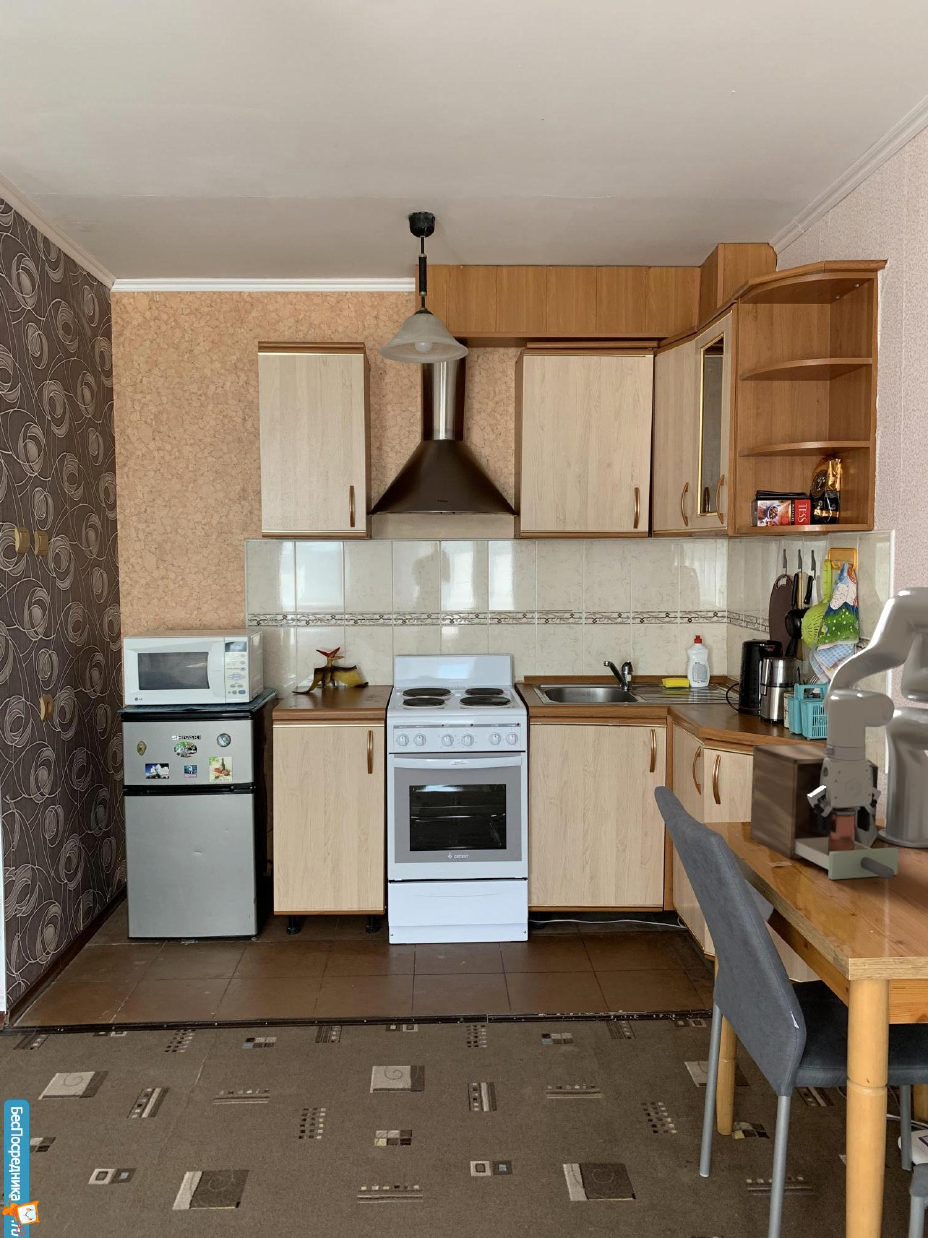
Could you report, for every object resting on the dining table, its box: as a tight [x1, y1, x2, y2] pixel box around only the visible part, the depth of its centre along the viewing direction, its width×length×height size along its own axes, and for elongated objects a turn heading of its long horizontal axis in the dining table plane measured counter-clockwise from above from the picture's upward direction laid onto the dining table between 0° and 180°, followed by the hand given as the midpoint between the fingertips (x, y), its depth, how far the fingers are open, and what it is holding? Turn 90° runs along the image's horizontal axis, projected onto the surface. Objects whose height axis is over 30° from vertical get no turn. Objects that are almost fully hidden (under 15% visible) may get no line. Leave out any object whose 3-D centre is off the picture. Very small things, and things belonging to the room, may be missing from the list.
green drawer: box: [794, 837, 899, 881], centre depth 195 cm, size 16×23×5 cm
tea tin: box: [828, 807, 856, 855], centre depth 198 cm, size 5×5×10 cm
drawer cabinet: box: [749, 743, 855, 860], centre depth 211 cm, size 16×16×22 cm
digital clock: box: [854, 807, 878, 848], centre depth 215 cm, size 16×9×11 cm, turn 137°
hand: (843, 831), depth 198 cm, fingers open, 9 cm apart
